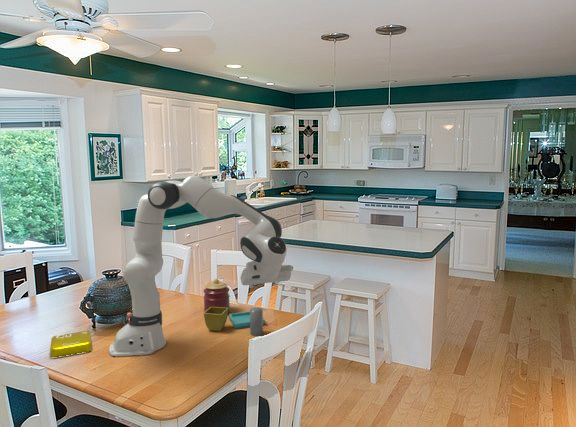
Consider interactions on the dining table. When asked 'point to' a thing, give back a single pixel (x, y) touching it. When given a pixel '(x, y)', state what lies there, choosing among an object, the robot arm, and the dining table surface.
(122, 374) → the dining table surface
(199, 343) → the dining table surface
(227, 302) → the canister
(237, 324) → the tray
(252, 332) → the dark grey cylinder
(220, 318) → the flower pot
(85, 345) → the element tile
